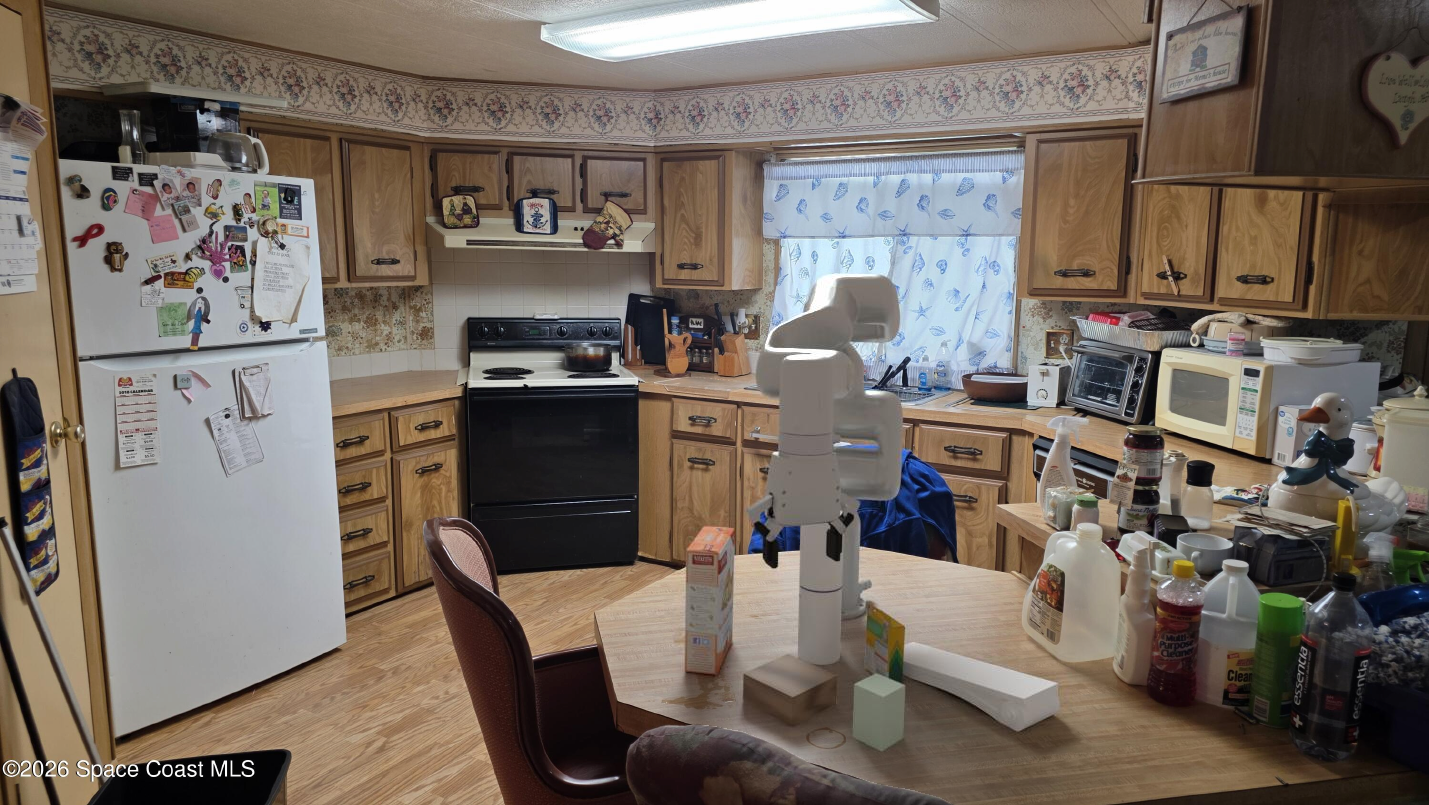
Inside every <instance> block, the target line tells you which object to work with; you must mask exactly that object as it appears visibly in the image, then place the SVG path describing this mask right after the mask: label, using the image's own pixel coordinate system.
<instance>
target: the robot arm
mask: <svg viewBox="0 0 1429 805" xmlns="http://www.w3.org/2000/svg"><path fill="white" fill-rule="evenodd" d="M895 286H896V285H895V284H894V283H893V281H892V280H891V279H890V278H888V276H885V275H884V274H876V273H875V274H874V273H873V274H872V273H866V274H863V273H834V274H833V273H832V274H828V275H824V276H822V277H821V278H819V279H818V280H816V282H815V283H814V284H813V286H812V288H811V290H810V293H809V296H808V299H807V300H806V302H805V303H804V306H803V312H802V313H801V314H799V315H797V316H795V317H793V318H791V319H789V320H788V321H787V320H786V321H785V322H783V323H781V324H778V326H776V327H775V328H773V329H772V330H771V331H770V332H769V333H768V334H767V336H766V338H765V340H764V342H763V344H762V347H761V350H760V352H759V355H758V358H757V363H756V365H755V366H756V367H755V383H756V387H757V388H758V391H759V392H760V393H761V395H763V396H764V397H766V398H769V399H771V400H779V401H778V402H779V403H778V405H779V406H778V446H777V451H774V452H772V453H771V458H770V462H769V467H768V472H767V473H768V474H767V478H766V488H765V496H764V497H763V498H761V499H759V500H757V501H756V502H754V503H753V504H750V505H749V506H748V507H747V508H745V511H744V512H745V514H746V517H747V518H748V521H749V522H750V525H751V527H752V528H753V529H754V530H755V531H756V532H757V533H758V534H759V535H760V536H761V537H762V560H763V561H764V563H765V564H766V565H767V566H768V567H770V569H777V568H778V567H779V541H778V540H777V539H776V538H777V536H778V535H779V534H780V532H781V531H782V530H783V528H784V527H786V528H787V527H801V526H802V525H812V524H822V523H827V524H828V525H829V526H830V529H827V533H826V556H828V557H829V558H831V559H832V560H834V561H836V562H838V561H840V553H842V538H843V534H844V540H843V573H842V606H841V620H849V619H855V618H857V617H859V616H862V615H863V614H864V613H865V612H866V611H867V604H866V603H867V602H866V601H865V599H863V598H862V597H861V594H862V593H863V592H864V591H866V590H869V589H871V588H872V586H873V584H872V581H871V580H870V579H869V578H865V579H863V580H861V581H860V580H859V579H860V578H859V577H860V574H859V572H860V547H861V546H860V545H861V519H860V517H859V514H858V509H859V508H860V505H861V502H860V501H859V500H868V501H869V500H871V501H889V500H891V501H892V500H893V499H894V498H896V497H897V495H898V494H899V491H900V487H901V481H902V458H903V456H902V455H903V454H902V453H903V431H904V430H903V429H904V428H903V427H904V418H903V417H904V413H903V405H902V401H901V399H900V398H899V396H898V395H897V394H895V393H894V392H891V391H887V390H870V389H869V390H868V389H865V388H864V377H865V376H864V375H865V374H864V371H865V364H864V360H863V359H862V357H861V355H860V354H859V352H858V350H857V349H856V348H855V346H854V345H853V344H852V343H869V344H870V343H871V344H872V343H874V344H875V343H876V344H884V343H890V342H892V341H893V340H895V339H896V337H897V335H898V333H899V331H900V326H901V310H900V302H899V296H898V292H897V289H896V287H895ZM842 440H844V441H845V440H846V441H857V442H859V441H860V442H872V443H875V444H876V446H877V448H865V447H863V448H862V447H854V446H853V447H852V446H837V445H835V444H840V443H841V441H842ZM834 445H835V446H834ZM840 511H842V512H843V513H842V514H841V515H840ZM763 512H764V515H765V517H766V518H767V520H766V522H765V523H763V522H762V521H761V518H760V515H761V514H762V513H763Z"/></svg>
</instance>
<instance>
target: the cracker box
mask: <svg viewBox="0 0 1429 805" xmlns="http://www.w3.org/2000/svg"><path fill="white" fill-rule="evenodd" d="M735 537H736V529H735V528H732V527H727V526H726V527H725V526H711V525H710V526H708V525H706V526H703V527H702V528H701V530H700V531H699V533H698V534H697V536H695V538H694V540H692V542H691V544H690V545H689V546H688V547H687V549H686V550H685V552H686V554H685V555H686V556H685V558H686V559H685V610H684V611H685V614H684V615H685V620H684V622H685V623H684V625H685V626H684V630H685V631H684V672H687V673H693V674H694V673H696V674H704V675H715V676H718V674H719V671H720V670H721V667H722V664H723V662H724V660H725V658H726V655H727V653H728V651H729V649H730V647H731V644H732V643H733V622H734V621H733V620H734V589H735V588H734V585H735V584H734V582H735V581H734V580H735V574H734V573H735V551H736V550H735V549H736V548H735V546H736V545H735V544H736V543H735V540H736V538H735Z"/></svg>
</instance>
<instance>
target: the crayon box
mask: <svg viewBox="0 0 1429 805" xmlns="http://www.w3.org/2000/svg"><path fill="white" fill-rule="evenodd" d="M866 603H867V604H866V626H865V628H866V629H865V647H864V648H865V649H864V651H865V652H864V669H865V670H867V671H868V672H870V674H872V675H874V674H876V673H877V674H880V675H882V676H884V677H887V678H889V679H891V680H894V681H896V682H899V683H901V684H903V681H904V680H903V676H904V674H903V660H904V645H905V638H906V637H905V634H906V626H905V624H904V625H903V623H901V622H899V621H898V620H896V619H895V618H894V617H892V616H890V615H889V614H888V613H886V612H885V611H883V610H882V609H880V608H878V607H877V606H875V605H874V604H872V603H871V602H869V601H867V602H866Z"/></svg>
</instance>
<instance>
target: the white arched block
mask: <svg viewBox="0 0 1429 805" xmlns="http://www.w3.org/2000/svg"><path fill="white" fill-rule="evenodd" d="M903 676H906V677H908V678H910V679H913V680H915V681H918V682H922V683H923V684H927V685H930V686H932V687H935V688H938V689H940V690H943V691H946V692H948V693H951V694H953V695H955V696H957V697H959V698H961V699H963V700H964V701H966V702H967V703H970V704H971V705H973V706H975V707H977V708H979V709H980V710H982V711H983V712H985V713H986V714H988V715H989V716H991V717H992V718H994V720H996V721H998V723H1001V724H1002V725H1004V726H1007V727H1008V728H1010V729H1012V730H1013V731H1016V732H1021V731H1022V730H1024V729H1026V728H1029V727H1030V726H1033V725H1035V724H1037V723H1039V722H1041V721H1043V720H1045V719H1047V718H1049V717H1051V716H1054V715H1055V714H1056V713H1058V711H1059V709H1060V706H1061V705H1060V704H1061V702H1060V697H1059V695H1058V690H1059V683H1058V682H1055V681H1052V680H1048V679H1046V678H1045V679H1043V678H1041V677H1038V676H1034V675H1031V674H1027V673H1023V672H1020V671H1017V670H1013V669H1010V668H1007V667H1002V666H999V665H997V664H996V665H995V664H992V663H988V662H985V661H982V660H978V659H975V658H971V657H968V656H964V655H960V654H957V653H953V652H950V651H947V650H943V649H940V648H935V647H933V646H930V645H925V644H923V643H922V644H921V643H919V642H916V641H912V642H908V643H904V660H903Z"/></svg>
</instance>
